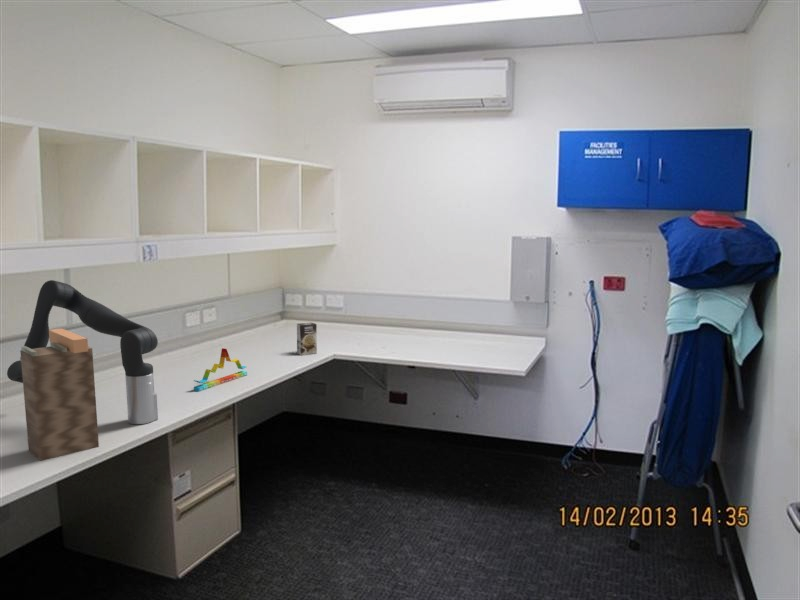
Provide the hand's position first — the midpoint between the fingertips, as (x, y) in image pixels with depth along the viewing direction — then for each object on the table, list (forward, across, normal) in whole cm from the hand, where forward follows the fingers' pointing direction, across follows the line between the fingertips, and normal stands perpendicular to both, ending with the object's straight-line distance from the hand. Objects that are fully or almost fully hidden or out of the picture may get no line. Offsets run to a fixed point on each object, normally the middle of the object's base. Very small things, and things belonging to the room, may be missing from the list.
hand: (51, 351), depth 216 cm
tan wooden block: (+18, -1, +3) cm, 18 cm away
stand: (+7, -4, +33) cm, 34 cm away
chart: (-24, +73, +19) cm, 79 cm away
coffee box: (-40, +136, +10) cm, 142 cm away
